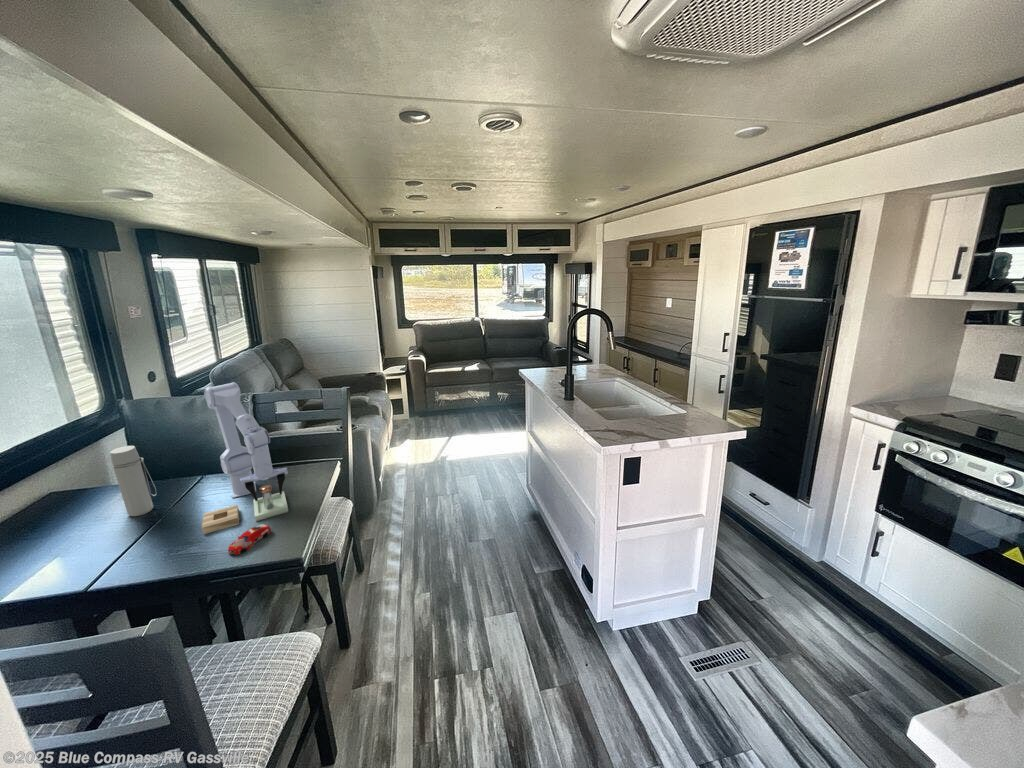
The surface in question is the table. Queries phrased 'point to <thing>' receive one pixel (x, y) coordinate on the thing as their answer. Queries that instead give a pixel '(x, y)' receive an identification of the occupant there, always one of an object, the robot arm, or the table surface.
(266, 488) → the pin
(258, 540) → the race car
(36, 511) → the table surface
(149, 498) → the water bottle
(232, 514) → the socket block
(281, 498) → the tray
